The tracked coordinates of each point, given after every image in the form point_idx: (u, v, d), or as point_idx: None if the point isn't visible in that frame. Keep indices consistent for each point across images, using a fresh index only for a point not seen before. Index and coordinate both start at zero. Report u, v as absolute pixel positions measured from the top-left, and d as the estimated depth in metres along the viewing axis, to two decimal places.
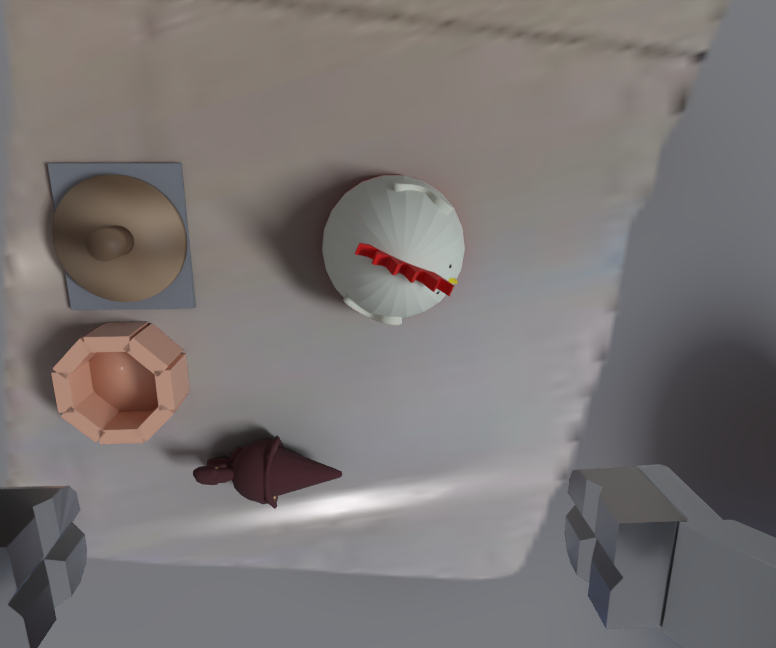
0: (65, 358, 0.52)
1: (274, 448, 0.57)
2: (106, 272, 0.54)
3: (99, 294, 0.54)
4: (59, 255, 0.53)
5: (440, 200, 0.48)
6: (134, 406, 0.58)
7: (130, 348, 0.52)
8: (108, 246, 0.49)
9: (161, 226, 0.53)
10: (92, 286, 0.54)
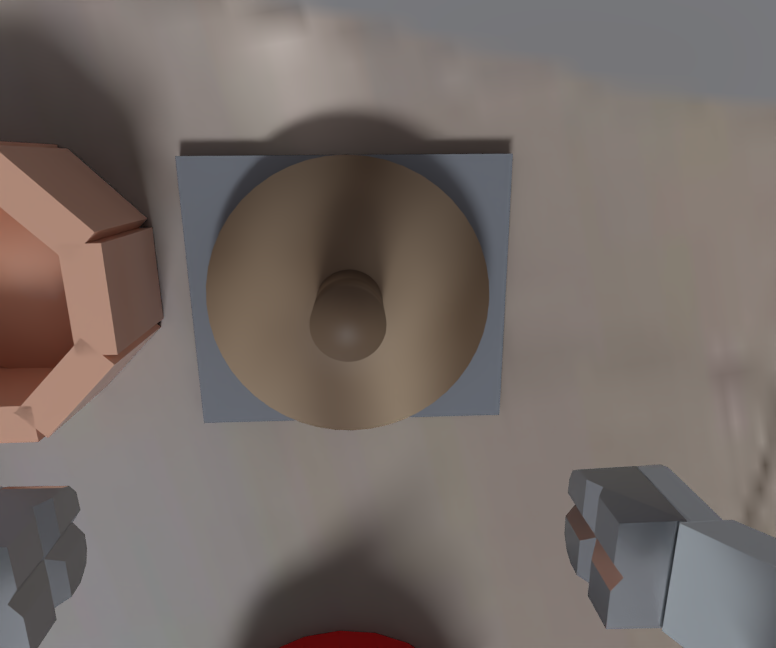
0: (30, 187, 0.19)
1: None
2: (274, 267, 0.23)
3: (220, 244, 0.23)
4: (311, 163, 0.22)
5: None
6: None
7: (84, 356, 0.21)
8: (346, 339, 0.20)
9: (380, 390, 0.25)
10: (239, 230, 0.23)
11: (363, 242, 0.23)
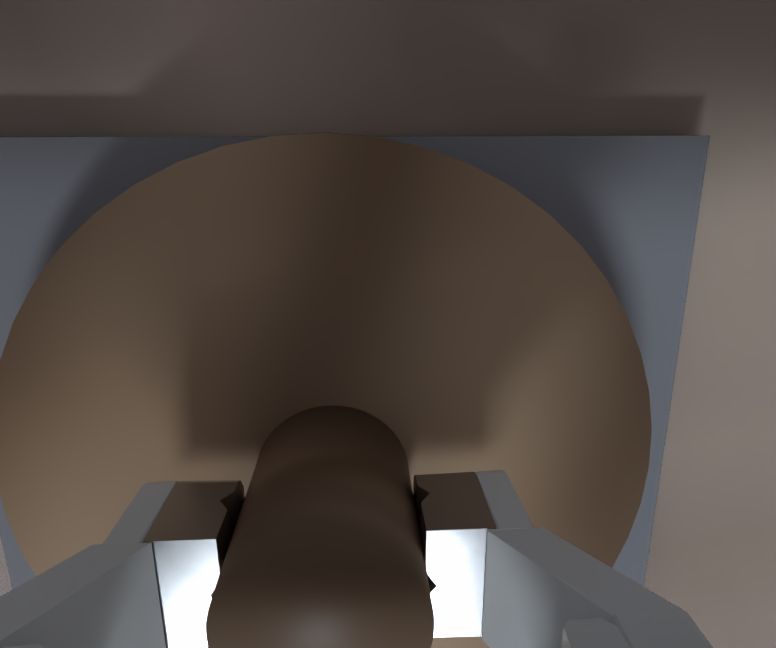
0: None
1: None
2: (153, 402, 0.10)
3: (18, 350, 0.09)
4: (236, 155, 0.09)
5: None
6: None
7: None
8: None
9: None
10: (62, 318, 0.09)
11: (366, 345, 0.10)
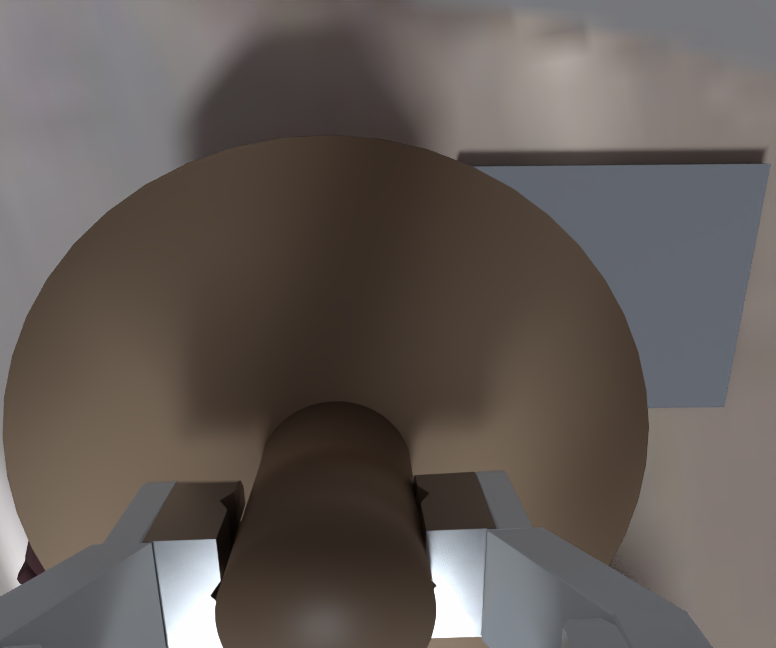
0: None
1: None
2: (161, 396, 0.10)
3: (31, 345, 0.10)
4: (246, 156, 0.09)
5: None
6: None
7: None
8: None
9: None
10: (74, 314, 0.09)
11: (370, 342, 0.10)
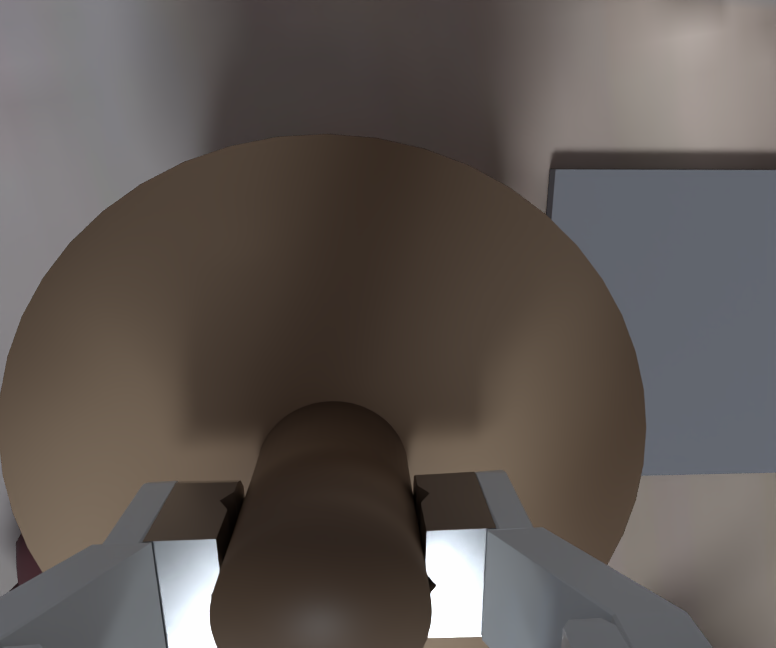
0: None
1: None
2: (157, 397, 0.10)
3: (26, 344, 0.10)
4: (242, 155, 0.09)
5: None
6: None
7: None
8: None
9: None
10: (70, 313, 0.09)
11: (367, 342, 0.10)
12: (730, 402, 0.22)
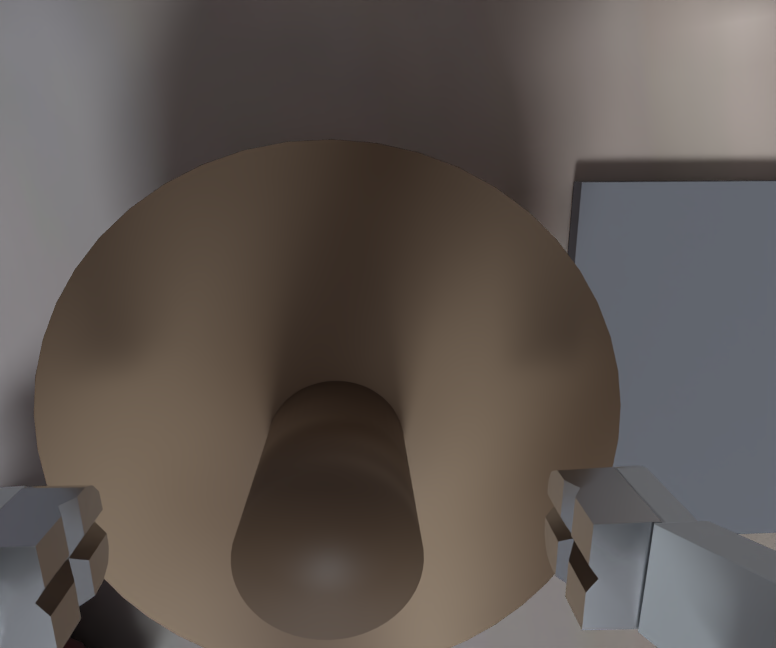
0: None
1: None
2: (177, 376, 0.11)
3: (60, 329, 0.11)
4: (255, 158, 0.10)
5: None
6: None
7: None
8: (324, 592, 0.08)
9: None
10: (99, 301, 0.10)
11: (366, 327, 0.11)
12: None
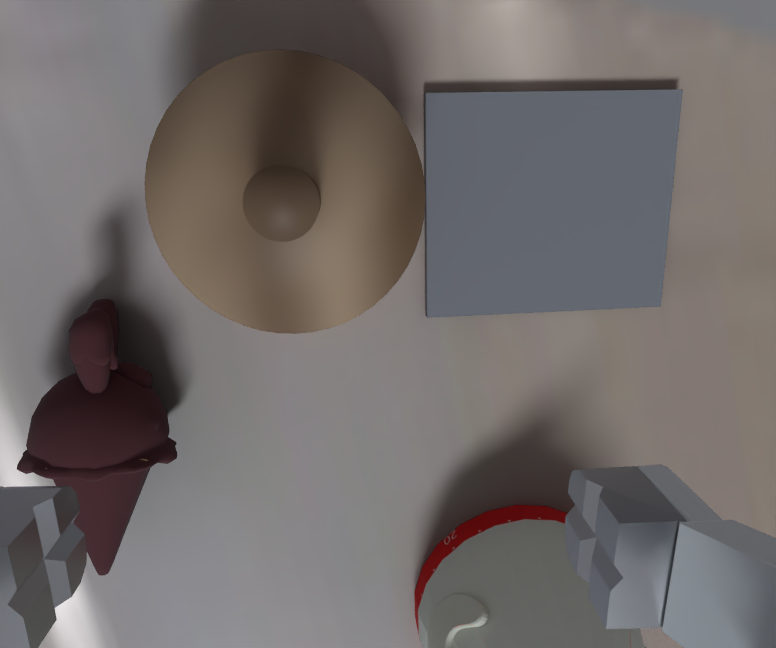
0: None
1: (158, 462, 0.29)
2: (212, 164, 0.24)
3: (158, 140, 0.23)
4: (246, 58, 0.23)
5: None
6: None
7: None
8: (280, 218, 0.21)
9: (322, 291, 0.25)
10: (177, 126, 0.23)
11: (300, 139, 0.24)
12: (561, 257, 0.32)
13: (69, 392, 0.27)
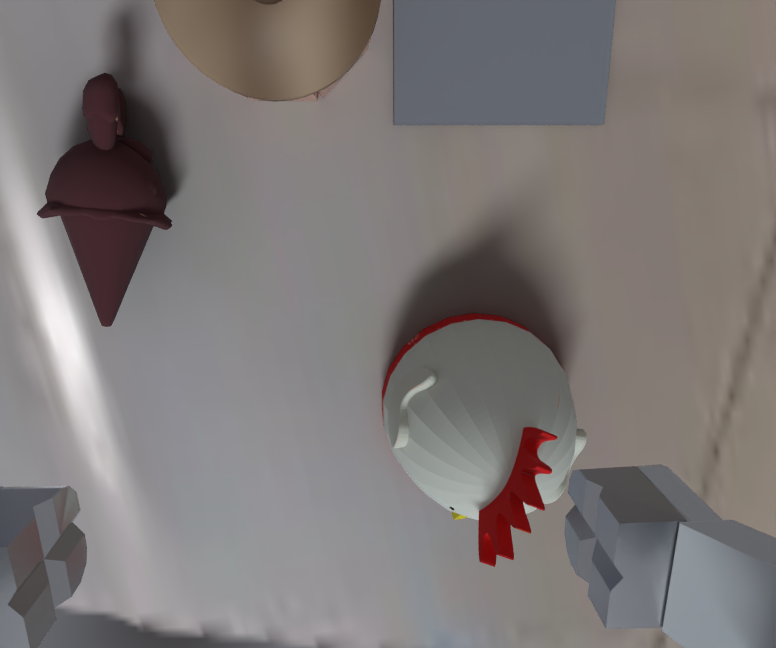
0: None
1: (154, 224, 0.34)
2: None
3: None
4: None
5: (561, 491, 0.38)
6: None
7: None
8: None
9: (294, 61, 0.30)
10: None
11: None
12: (514, 72, 0.36)
13: (82, 148, 0.32)
